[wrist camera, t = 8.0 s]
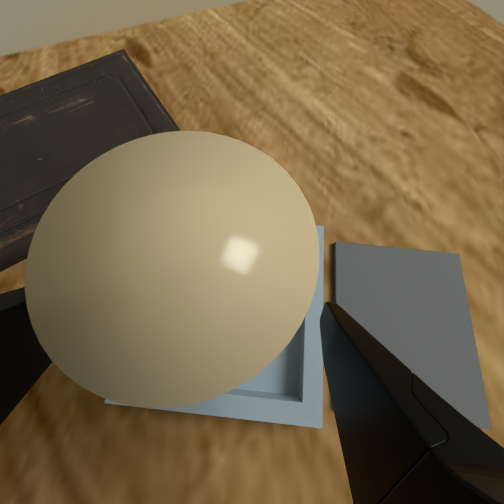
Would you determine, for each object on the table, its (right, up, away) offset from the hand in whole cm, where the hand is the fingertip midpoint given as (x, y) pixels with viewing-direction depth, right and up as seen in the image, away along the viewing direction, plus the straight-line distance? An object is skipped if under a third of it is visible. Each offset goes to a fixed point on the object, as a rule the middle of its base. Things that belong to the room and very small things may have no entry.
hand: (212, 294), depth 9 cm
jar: (0, -2, +8) cm, 8 cm away
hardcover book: (-17, +10, +13) cm, 23 cm away
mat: (+13, -4, +8) cm, 16 cm away
